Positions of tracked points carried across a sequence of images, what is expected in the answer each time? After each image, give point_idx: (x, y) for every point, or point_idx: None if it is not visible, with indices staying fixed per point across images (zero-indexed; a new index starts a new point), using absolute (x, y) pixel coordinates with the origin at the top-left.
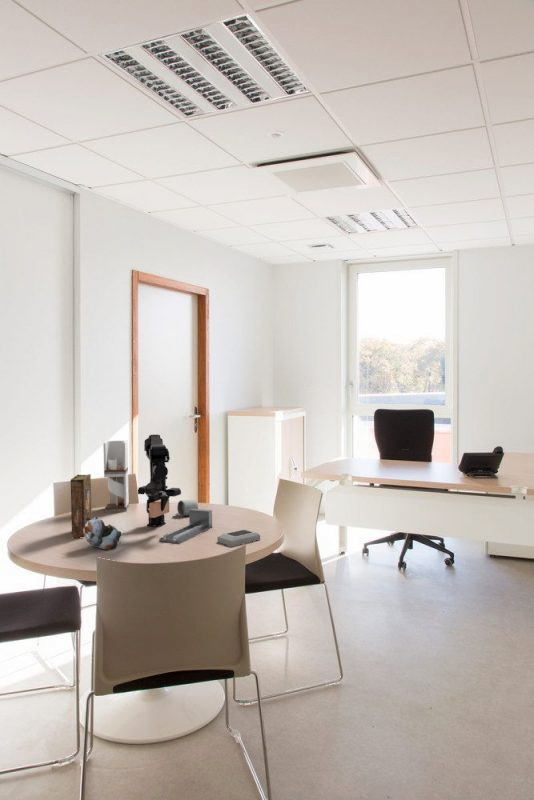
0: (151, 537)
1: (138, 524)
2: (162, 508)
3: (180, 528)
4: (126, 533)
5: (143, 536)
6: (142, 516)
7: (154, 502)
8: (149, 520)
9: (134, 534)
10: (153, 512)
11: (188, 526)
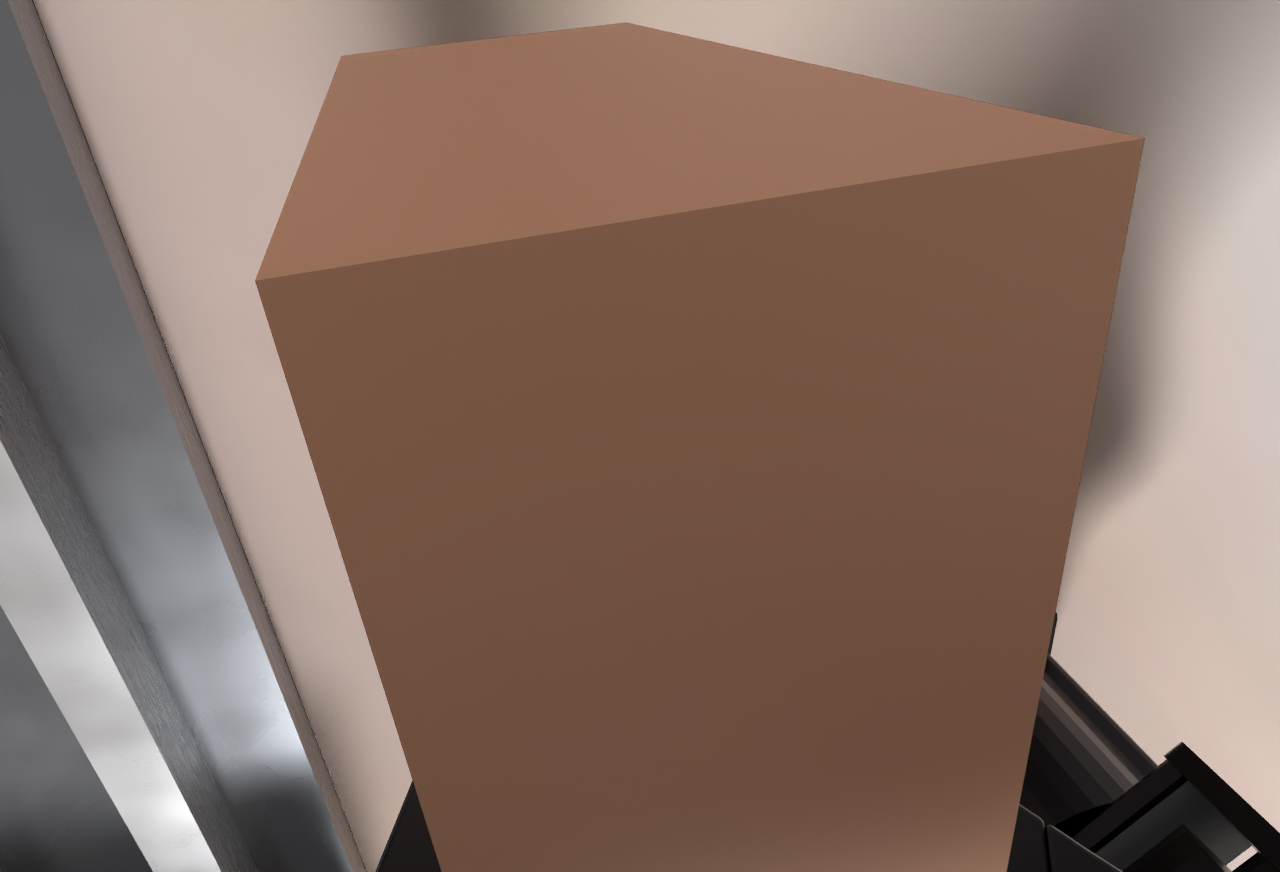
0: (471, 17)
1: (1184, 584)
2: (402, 808)
3: (74, 638)
4: (1158, 43)
5: (704, 4)
6: (1269, 823)
7: (777, 792)
8: (1066, 691)
9: (975, 56)
10: (393, 85)
11: (141, 834)
